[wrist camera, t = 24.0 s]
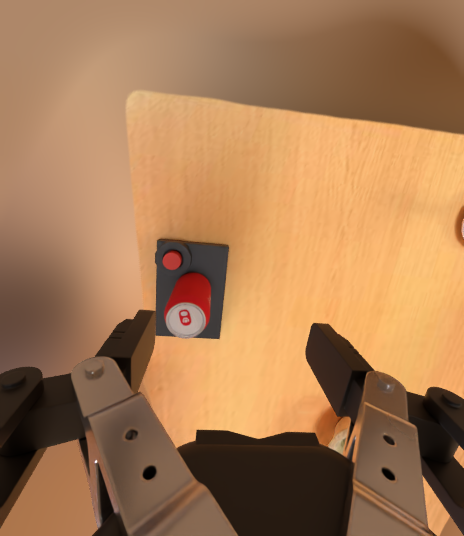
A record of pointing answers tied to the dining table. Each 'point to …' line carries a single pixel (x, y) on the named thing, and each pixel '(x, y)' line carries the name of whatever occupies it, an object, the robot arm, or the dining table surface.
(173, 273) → the grey plate red button
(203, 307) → the beverage can
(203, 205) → the dining table surface
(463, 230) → the flower in vase
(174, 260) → the button
